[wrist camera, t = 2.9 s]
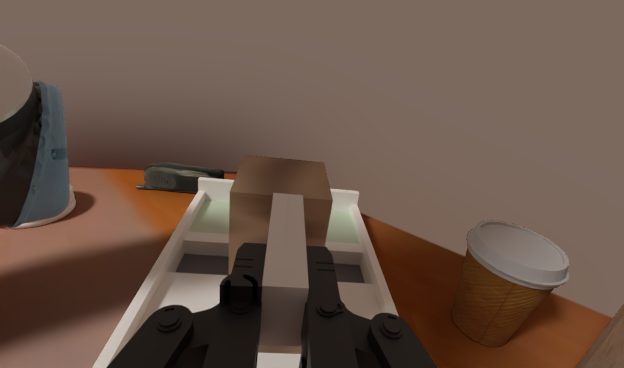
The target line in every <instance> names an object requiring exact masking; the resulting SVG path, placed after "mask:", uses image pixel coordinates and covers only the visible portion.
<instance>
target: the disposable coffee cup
mask: <svg viewBox="0 0 624 368" xmlns="http://www.w3.org/2000/svg"><path fill="white" fill-rule="evenodd" d="M466 240H467V247H468V249H467V252H466V256H465V260H464V263H463V268H462V272H461V276H460V280H459V285H458V289H457V293H456V297H455V301H454V305H453V309H452V318H453V320H454V322H455V324H456V326H457V327H458V328H459V329H460V330H461V331H462V332H463V333H464V334H465V335H466V336H468V337H469V338H470V339H472V340H474V341H476V342H478V343H480V344H482V345H485V346H490V347H500V346H503V345H504V344H506V342H507V341H508V340H509V339H510V338H511V337H512V335H513V334H514V333H515V332H516V331H517V330H518V329H519V328H520V326H521V325H522V324H523V323H524V322H525V321H526V320H527V319H528V317H529V316H530V315H531V314H532V313H533V312H534V311H535V309H536V308H537V307H538V306H539V305H540V304H541V303H542V301H543V300H544V299H545V298H546V297H547V296H548V295H549V294H550V292H551V291H552V290H553V289H554V288H556V287H558V286H560V285H562V284H564V283H565V282H566V281H567V280H568V278H569V271H568V267H569V259H568V257H567V255H566V254H565V253H564V252H563V250H562V249H561V248H559V247H558V246H557V245H556V244H554V243H553V242H552V241H550V240H549V239H547V238H545V237H544V236H542V235H540V234H538V233H536V232H534V231H532V230H529V229H527V228H525V227H521V226H518V225H516V224H512V223H508V222H503V221H495V220H487V221H482V222H480V223H478V224H477V225H476V227H475V228H474V229H471V230H470V231H469V232H468V234H467V239H466Z"/></svg>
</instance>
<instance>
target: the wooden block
mask: <svg viewBox="0 0 624 368" xmlns="http://www.w3.org/2000/svg"><path fill="white" fill-rule="evenodd" d="M576 368H624V304H623V306H622V307H621V308H620V309H619V311H618V312H617V313H616V315H615V316H614V317H613V319H612V320H611V321H610V323H609V324H608V325H607V327H606V328H605V329H604V331H603V332H602V333H601V335H600V336H599V337H598V339H597V340H596V341H595V342H594V344H593V345H592V346H591V348H590V349H589V350H588V352H587V353H586V354H585V356H584V357H583V358H582V360H581V361H580V362H579V364H578V365H577V366H576Z"/></svg>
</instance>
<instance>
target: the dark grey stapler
mask: <svg viewBox="0 0 624 368" xmlns="http://www.w3.org/2000/svg"><path fill="white" fill-rule="evenodd" d="M199 177H205V178H216V179H224V171H223V170H219V169H211V168H203V167H196V166H187V165H181V164H174V163H166V162H163V163H152V164H149V165H148V166H147V167H146V168H145V170H144V179H145V184H144V185H136V188H139V189H153V190H163V191H172V192H184V193H192V194H197V192H198V179H199Z"/></svg>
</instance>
